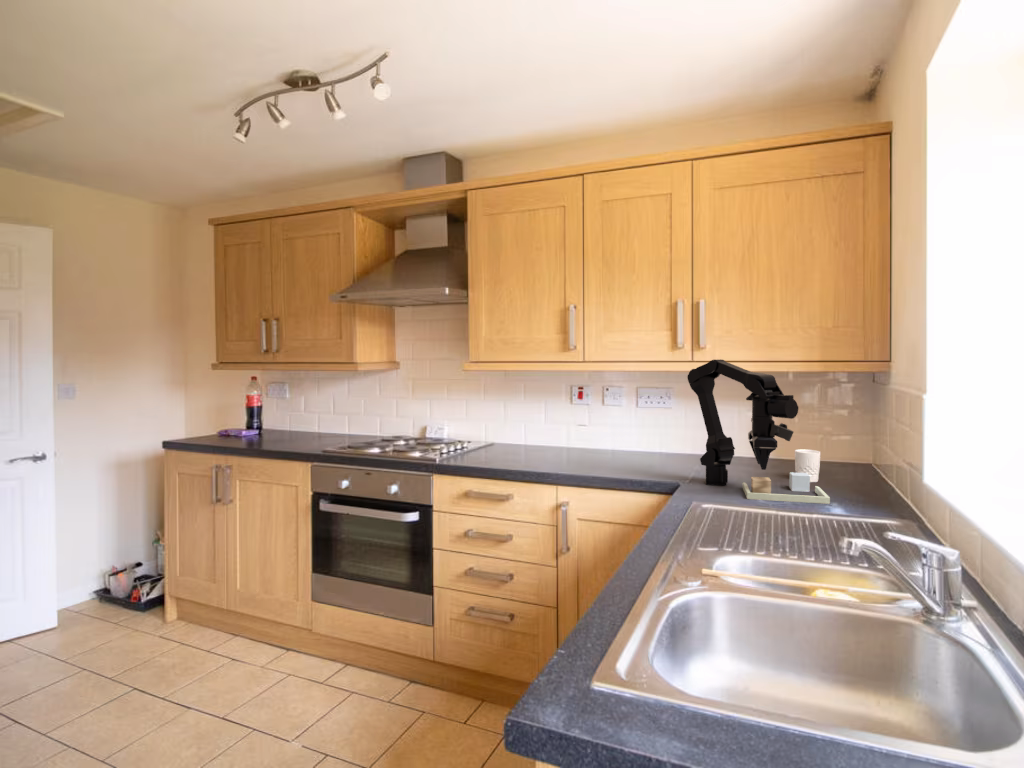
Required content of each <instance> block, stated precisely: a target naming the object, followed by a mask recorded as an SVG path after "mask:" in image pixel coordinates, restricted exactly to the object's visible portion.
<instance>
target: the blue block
mask: <svg viewBox="0 0 1024 768" xmlns="http://www.w3.org/2000/svg"><path fill="white" fill-rule="evenodd" d="M788 482H789V484H788V486H789V489H790V490H791V491H792V492H803V493H804V492H808V493H809V492H810V490H811V489H810V488H811V482H810V476H809V475H808V474H807V473H796V472H793V471H791V472H789V481H788Z"/></svg>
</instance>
